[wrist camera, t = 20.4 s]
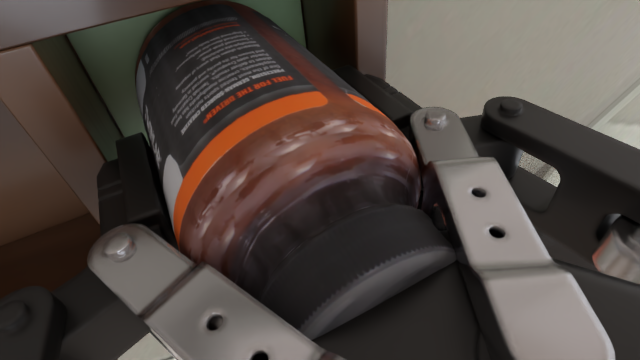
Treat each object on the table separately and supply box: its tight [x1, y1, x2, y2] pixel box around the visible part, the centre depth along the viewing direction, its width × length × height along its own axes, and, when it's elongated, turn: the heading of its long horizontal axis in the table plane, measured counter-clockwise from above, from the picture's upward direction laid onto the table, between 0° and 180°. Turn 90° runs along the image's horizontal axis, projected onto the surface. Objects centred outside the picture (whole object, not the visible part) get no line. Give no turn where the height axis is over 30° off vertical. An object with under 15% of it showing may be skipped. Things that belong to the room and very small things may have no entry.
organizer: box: [0, 0, 388, 299], centre depth 12 cm, size 10×20×5 cm, turn 96°
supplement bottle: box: [135, 0, 457, 340], centre depth 10 cm, size 6×6×11 cm
